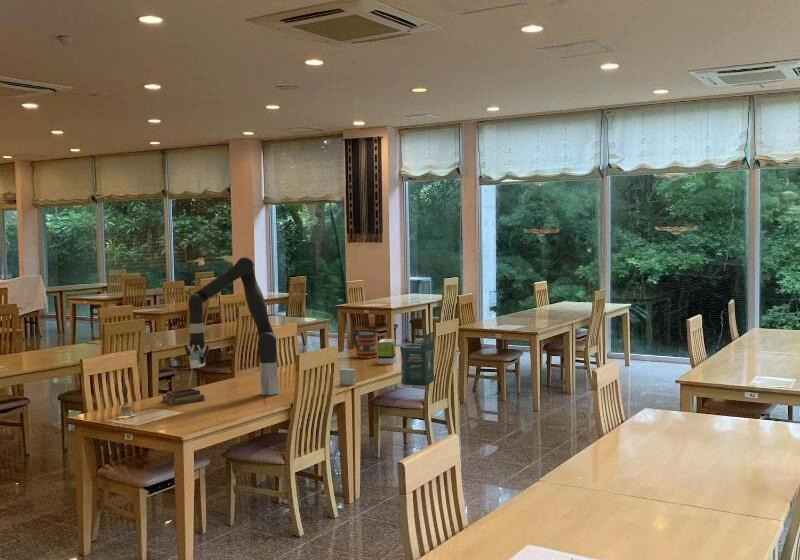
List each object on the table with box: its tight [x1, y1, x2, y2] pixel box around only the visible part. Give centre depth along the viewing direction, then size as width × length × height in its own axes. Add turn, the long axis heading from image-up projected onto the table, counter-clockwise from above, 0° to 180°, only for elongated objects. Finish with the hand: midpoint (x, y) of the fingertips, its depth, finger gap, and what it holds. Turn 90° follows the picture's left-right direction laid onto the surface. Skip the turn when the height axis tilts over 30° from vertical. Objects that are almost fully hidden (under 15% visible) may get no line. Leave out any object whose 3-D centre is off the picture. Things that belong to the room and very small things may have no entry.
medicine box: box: [339, 368, 356, 386], centre depth 451 cm, size 8×4×9 cm, turn 71°
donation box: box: [399, 331, 436, 387], centre depth 450 cm, size 16×16×28 cm
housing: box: [189, 349, 206, 369], centre depth 421 cm, size 9×4×8 cm, turn 173°
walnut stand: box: [162, 387, 205, 406], centre depth 418 cm, size 16×16×5 cm
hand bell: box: [118, 383, 135, 416], centre depth 383 cm, size 8×8×16 cm
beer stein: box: [352, 327, 378, 359], centre depth 551 cm, size 19×15×20 cm
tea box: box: [376, 338, 397, 365], centre depth 525 cm, size 15×10×15 cm, turn 172°
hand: (197, 363), depth 421 cm, fingers closed on housing, 4 cm apart
